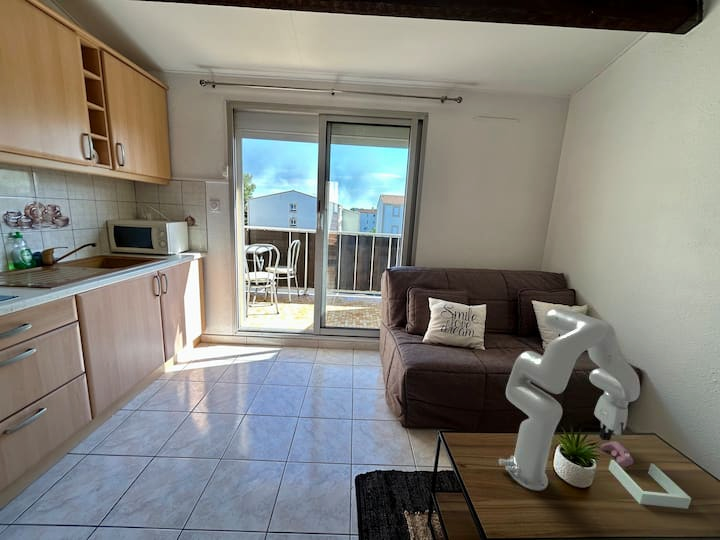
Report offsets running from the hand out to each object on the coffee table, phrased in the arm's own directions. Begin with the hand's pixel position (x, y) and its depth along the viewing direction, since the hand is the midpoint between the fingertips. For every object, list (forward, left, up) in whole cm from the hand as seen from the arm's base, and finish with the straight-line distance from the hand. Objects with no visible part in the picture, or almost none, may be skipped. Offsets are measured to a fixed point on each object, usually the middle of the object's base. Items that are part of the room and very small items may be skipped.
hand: (604, 438), depth 119 cm
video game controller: (-1, -8, -3) cm, 8 cm away
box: (0, -19, -3) cm, 19 cm away
